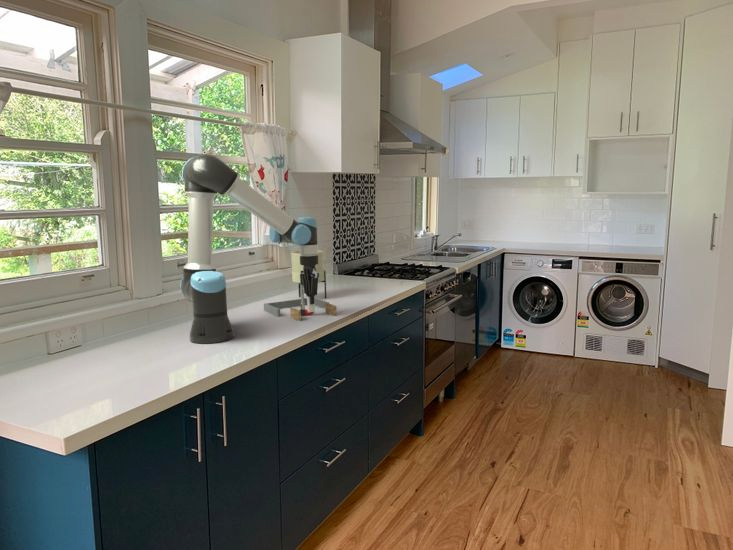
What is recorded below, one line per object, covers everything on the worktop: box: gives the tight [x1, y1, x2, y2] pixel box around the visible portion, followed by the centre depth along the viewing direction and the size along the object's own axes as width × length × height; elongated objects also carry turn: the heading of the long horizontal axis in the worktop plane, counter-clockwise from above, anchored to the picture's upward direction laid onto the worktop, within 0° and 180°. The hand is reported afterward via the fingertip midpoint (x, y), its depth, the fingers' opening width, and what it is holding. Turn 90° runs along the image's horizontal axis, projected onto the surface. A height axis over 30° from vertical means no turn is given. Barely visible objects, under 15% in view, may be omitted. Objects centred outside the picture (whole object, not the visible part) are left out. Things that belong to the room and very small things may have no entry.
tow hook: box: [299, 284, 313, 317], centre depth 238 cm, size 8×13×9 cm
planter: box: [290, 249, 327, 299], centre depth 269 cm, size 15×16×23 cm
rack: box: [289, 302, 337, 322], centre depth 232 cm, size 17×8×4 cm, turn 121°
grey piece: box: [263, 297, 330, 317], centre depth 246 cm, size 24×16×3 cm, turn 121°
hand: (311, 311), depth 234 cm, fingers closed
